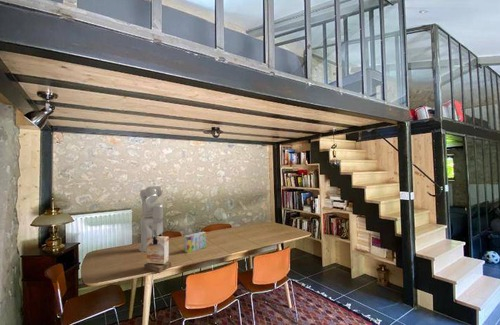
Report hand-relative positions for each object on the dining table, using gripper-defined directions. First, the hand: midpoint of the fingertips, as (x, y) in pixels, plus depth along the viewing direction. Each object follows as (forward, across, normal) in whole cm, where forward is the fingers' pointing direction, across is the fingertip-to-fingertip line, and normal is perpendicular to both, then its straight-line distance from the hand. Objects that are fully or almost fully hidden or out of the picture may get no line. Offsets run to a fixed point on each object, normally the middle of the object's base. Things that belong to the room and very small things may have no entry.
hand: (157, 242), depth 189 cm
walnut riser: (+20, 0, 0) cm, 20 cm away
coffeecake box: (+15, 0, 0) cm, 15 cm away
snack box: (+20, -44, +15) cm, 51 cm away
